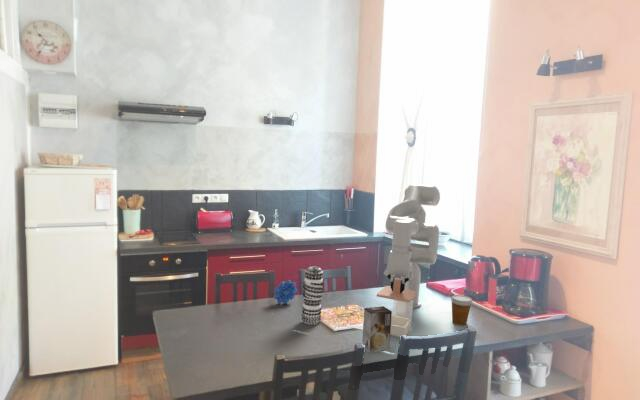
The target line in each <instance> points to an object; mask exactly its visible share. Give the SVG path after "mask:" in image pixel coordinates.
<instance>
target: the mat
mask: <svg viewBox="0 0 640 400" xmlns="http://www.w3.org/2000/svg"><path fill="white" fill-rule="evenodd" d="M347 328H352V329H357V330H361V331H363V325H362V326H348V327H347Z"/></svg>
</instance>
